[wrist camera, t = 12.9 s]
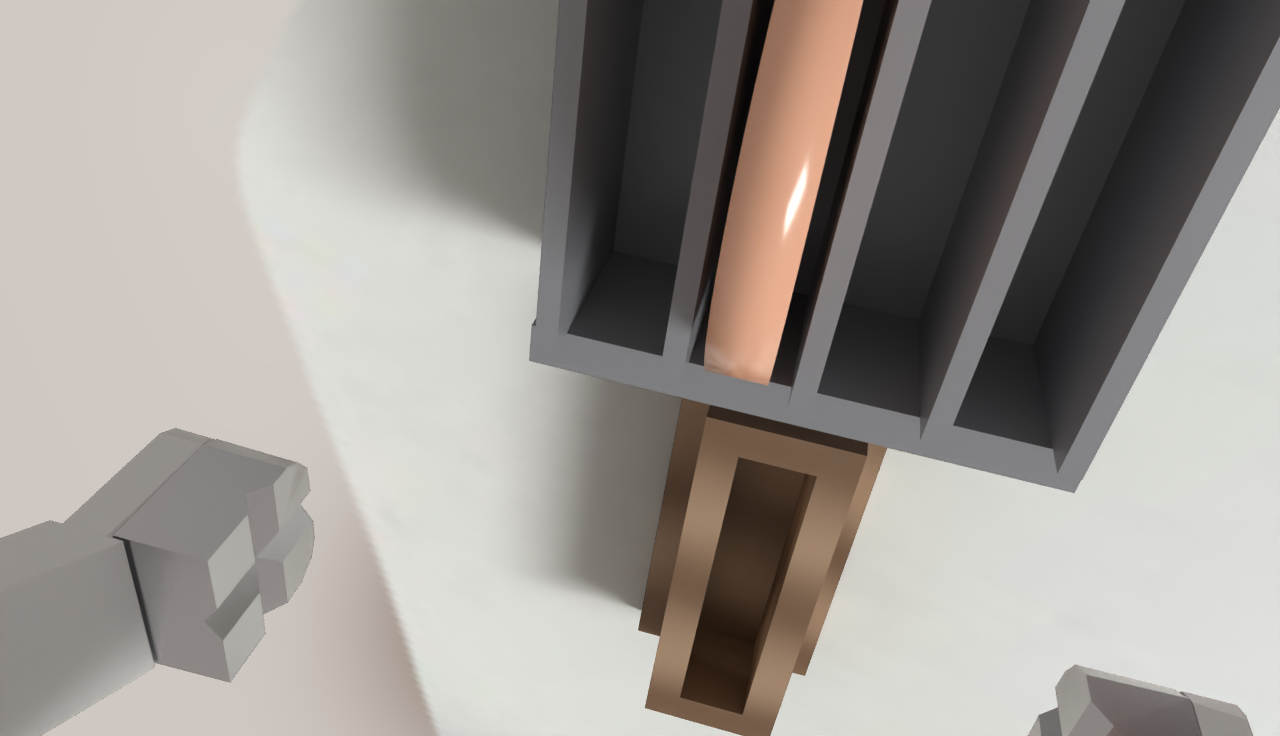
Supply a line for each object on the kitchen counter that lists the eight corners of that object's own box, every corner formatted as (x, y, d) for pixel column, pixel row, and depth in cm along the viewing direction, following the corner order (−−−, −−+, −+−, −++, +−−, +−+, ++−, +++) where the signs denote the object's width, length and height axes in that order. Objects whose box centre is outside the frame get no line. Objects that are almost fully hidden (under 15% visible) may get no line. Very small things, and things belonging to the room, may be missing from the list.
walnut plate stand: (806, 656, 40) (796, 750, 36) (643, 612, 41) (617, 700, 37) (905, 378, 31) (905, 465, 28) (697, 330, 32) (670, 407, 29)
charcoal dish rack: (1048, 367, 30) (1079, 518, 24) (587, 262, 32) (517, 380, 26) (1332, -251, 21) (1492, -238, 15) (652, -354, 22) (564, -377, 17)
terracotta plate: (797, 248, 29) (744, 488, 20) (751, 238, 29) (678, 472, 20) (898, -169, 22) (886, -86, 13) (838, -178, 22) (787, -103, 14)
